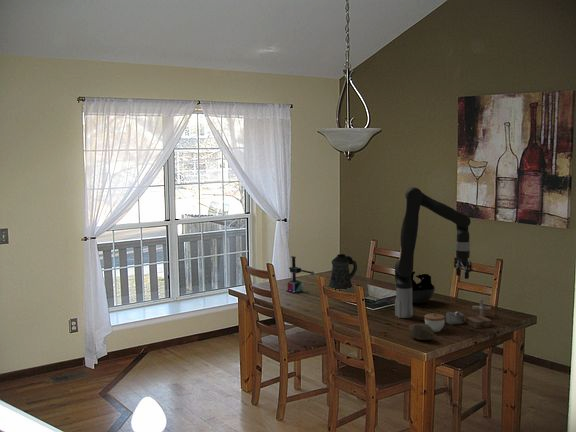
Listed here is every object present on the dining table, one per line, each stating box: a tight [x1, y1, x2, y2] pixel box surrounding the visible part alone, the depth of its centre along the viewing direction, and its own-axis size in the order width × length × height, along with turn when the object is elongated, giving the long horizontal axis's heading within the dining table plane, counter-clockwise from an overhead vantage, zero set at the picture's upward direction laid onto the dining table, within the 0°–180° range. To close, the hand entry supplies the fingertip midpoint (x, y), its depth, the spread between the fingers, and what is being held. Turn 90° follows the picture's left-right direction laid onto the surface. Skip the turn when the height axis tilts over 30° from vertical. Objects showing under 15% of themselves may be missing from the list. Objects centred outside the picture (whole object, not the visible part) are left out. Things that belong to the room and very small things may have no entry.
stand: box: [463, 315, 495, 329], centre depth 347 cm, size 11×11×3 cm
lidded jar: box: [424, 312, 446, 333], centre depth 339 cm, size 11×11×9 cm
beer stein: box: [328, 253, 358, 291], centre depth 433 cm, size 16×19×25 cm
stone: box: [407, 322, 436, 341], centre depth 325 cm, size 17×9×8 cm, turn 40°
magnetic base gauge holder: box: [285, 255, 315, 294], centre depth 431 cm, size 25×9×24 cm, turn 39°
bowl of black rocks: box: [411, 270, 436, 304], centre depth 394 cm, size 20×20×19 cm
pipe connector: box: [472, 298, 491, 317], centre depth 362 cm, size 10×10×10 cm
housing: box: [445, 310, 465, 325], centre depth 352 cm, size 8×5×6 cm, turn 106°
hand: (462, 277), depth 362 cm, fingers open, 8 cm apart
